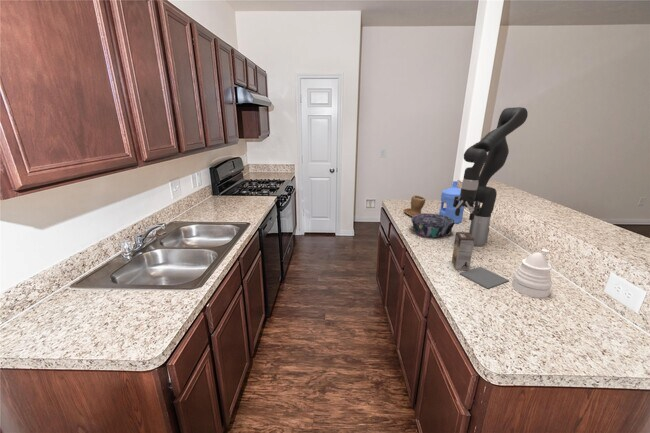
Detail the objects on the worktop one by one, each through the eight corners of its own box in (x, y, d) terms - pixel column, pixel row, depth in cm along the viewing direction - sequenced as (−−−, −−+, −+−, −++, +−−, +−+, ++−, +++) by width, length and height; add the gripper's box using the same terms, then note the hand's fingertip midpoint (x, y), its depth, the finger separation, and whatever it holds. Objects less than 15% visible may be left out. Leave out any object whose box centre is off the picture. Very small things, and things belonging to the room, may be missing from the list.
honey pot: (542, 283, 121) (552, 245, 116) (554, 300, 110) (566, 259, 104) (508, 278, 125) (516, 241, 120) (516, 294, 114) (525, 254, 108)
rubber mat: (480, 267, 135) (480, 266, 135) (509, 281, 123) (509, 280, 123) (459, 274, 130) (459, 272, 129) (487, 289, 117) (487, 288, 117)
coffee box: (451, 261, 142) (455, 231, 137) (464, 262, 141) (469, 232, 136) (455, 269, 133) (460, 238, 128) (469, 271, 132) (475, 239, 127)
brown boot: (426, 217, 207) (428, 197, 203) (411, 218, 205) (413, 198, 201) (416, 211, 222) (418, 193, 217) (402, 212, 220) (404, 194, 215)
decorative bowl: (460, 235, 179) (463, 220, 176) (436, 243, 162) (439, 227, 160) (425, 224, 198) (427, 211, 196) (400, 230, 182) (402, 216, 179)
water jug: (463, 219, 203) (469, 180, 195) (460, 225, 191) (466, 184, 182) (440, 215, 211) (445, 178, 203) (436, 221, 199) (440, 182, 190)
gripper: (486, 190, 141) (480, 220, 146) (462, 185, 154) (457, 213, 158) (476, 191, 138) (470, 222, 143) (452, 185, 150) (448, 214, 155)
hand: (463, 217), depth 151 cm, fingers open, 8 cm apart
